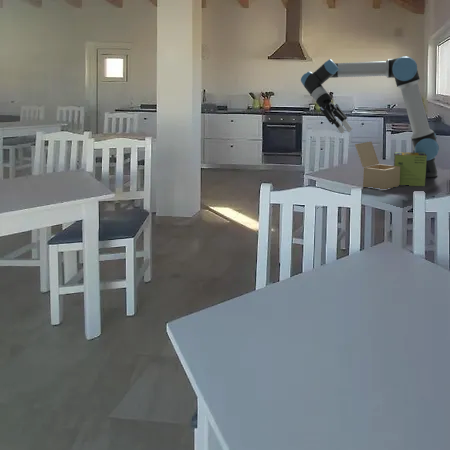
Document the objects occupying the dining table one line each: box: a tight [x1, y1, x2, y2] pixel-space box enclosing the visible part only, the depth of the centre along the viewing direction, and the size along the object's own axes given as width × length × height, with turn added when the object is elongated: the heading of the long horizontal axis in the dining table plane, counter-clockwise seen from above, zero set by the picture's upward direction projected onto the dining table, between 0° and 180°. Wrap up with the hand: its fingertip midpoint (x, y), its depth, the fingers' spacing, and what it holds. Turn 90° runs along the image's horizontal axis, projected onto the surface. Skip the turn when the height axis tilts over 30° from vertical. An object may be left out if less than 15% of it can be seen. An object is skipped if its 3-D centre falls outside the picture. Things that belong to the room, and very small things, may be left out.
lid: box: [354, 141, 380, 168], centre depth 323 cm, size 14×12×1 cm
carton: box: [362, 163, 400, 190], centre depth 320 cm, size 14×12×10 cm
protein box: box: [393, 151, 427, 187], centre depth 326 cm, size 10×15×16 cm
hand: (346, 131), depth 329 cm, fingers open, 6 cm apart
